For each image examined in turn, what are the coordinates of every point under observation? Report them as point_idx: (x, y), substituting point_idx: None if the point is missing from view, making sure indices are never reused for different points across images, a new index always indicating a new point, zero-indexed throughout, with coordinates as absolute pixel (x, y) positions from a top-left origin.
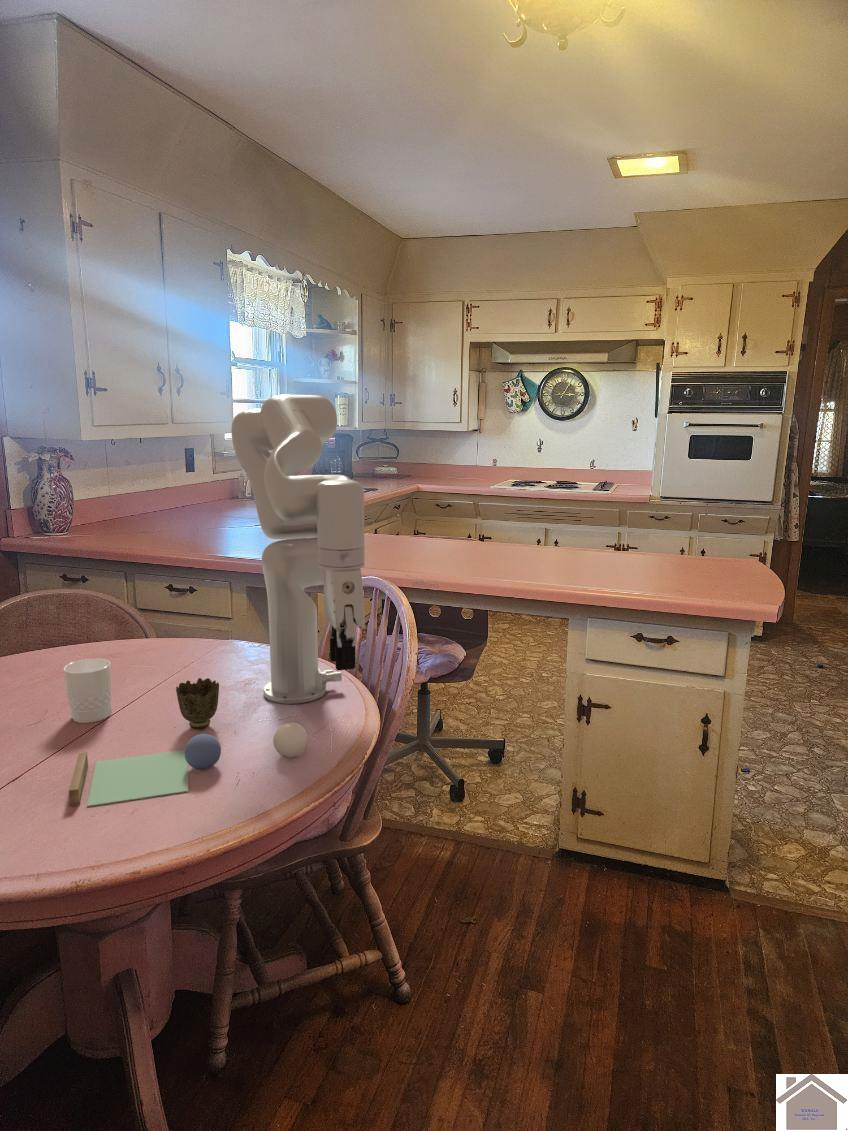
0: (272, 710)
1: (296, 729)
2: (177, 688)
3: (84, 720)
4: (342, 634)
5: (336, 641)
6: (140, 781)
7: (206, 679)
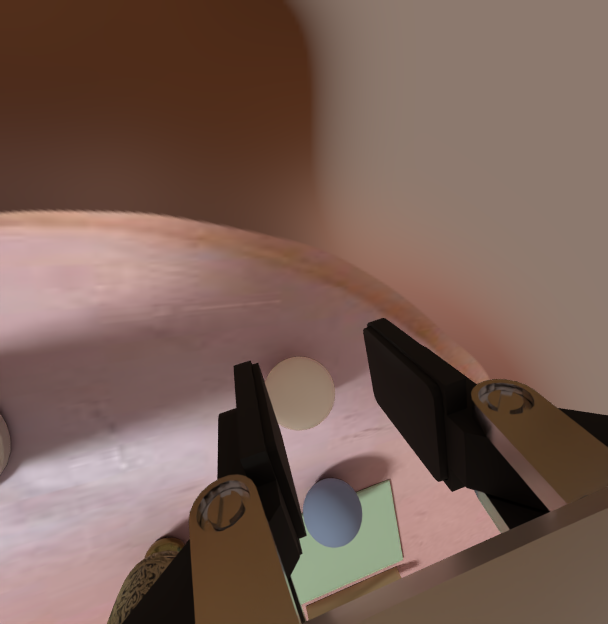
0: (59, 458)
1: (321, 395)
2: None
3: None
4: (281, 520)
5: (297, 505)
6: (356, 539)
7: None
